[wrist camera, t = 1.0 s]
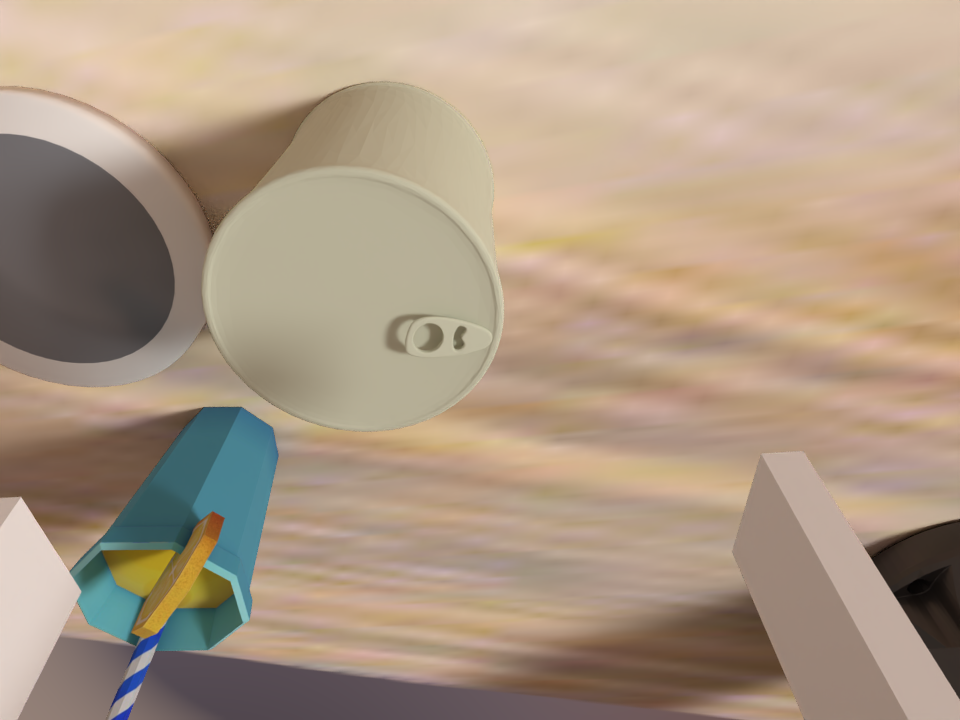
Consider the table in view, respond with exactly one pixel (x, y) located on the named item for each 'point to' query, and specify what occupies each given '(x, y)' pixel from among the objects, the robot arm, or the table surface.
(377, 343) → the can
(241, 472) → the cup
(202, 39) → the table surface
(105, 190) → the white and grey plate
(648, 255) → the table surface
